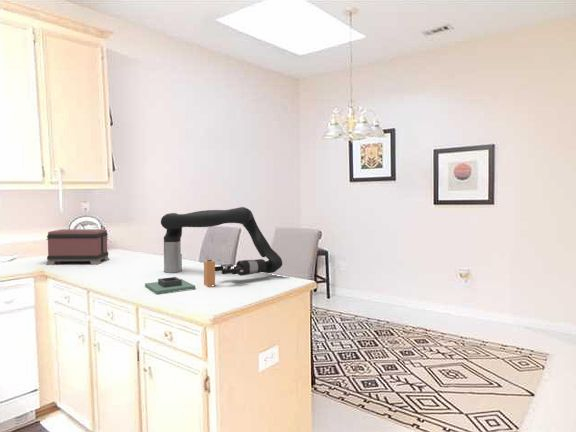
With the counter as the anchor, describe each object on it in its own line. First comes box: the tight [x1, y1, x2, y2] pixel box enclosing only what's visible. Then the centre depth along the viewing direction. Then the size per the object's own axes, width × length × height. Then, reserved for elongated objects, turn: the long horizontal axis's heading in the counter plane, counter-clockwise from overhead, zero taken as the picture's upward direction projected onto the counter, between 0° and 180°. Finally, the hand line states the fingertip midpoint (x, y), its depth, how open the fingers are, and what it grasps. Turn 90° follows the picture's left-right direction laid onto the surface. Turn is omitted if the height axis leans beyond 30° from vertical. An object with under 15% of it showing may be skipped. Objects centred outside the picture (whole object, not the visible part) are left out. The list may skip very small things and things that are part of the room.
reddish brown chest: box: [45, 228, 110, 266], centre depth 256 cm, size 19×34×21 cm, turn 94°
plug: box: [203, 259, 216, 287], centre depth 194 cm, size 4×4×13 cm
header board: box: [144, 276, 196, 295], centre depth 189 cm, size 18×18×4 cm
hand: (218, 270), depth 197 cm, fingers open, 8 cm apart
